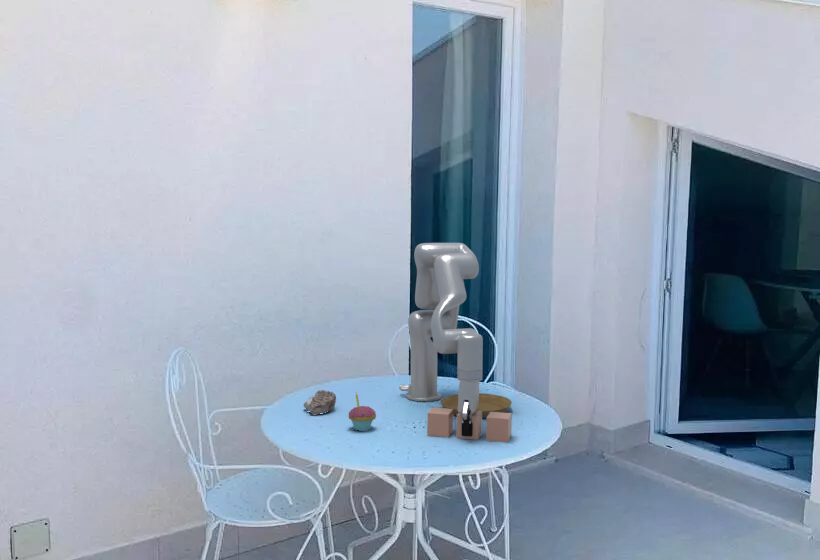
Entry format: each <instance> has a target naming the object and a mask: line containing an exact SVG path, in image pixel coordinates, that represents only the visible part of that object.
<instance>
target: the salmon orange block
mask: <svg viewBox="0 0 820 560" xmlns="http://www.w3.org/2000/svg"><path fill="white" fill-rule="evenodd" d="M512 420H513V419H512V412H504V413H501V412H490V413H489V414H488V416H487V417H486V424H485V425H486V434H485V438H486V440H485V441H487V442H500V443H509V441H510V440H511V437H512Z"/></svg>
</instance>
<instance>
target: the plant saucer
mask: <svg viewBox="0 0 820 560" xmlns="http://www.w3.org/2000/svg"><path fill="white" fill-rule="evenodd" d="M458 395H459V393H456V394H451V395H448V396H445V397H443V398H440V401H439V403H440V405H441V408H447V409H453V414H454V415H453V416H457V414H458ZM512 404H513V403H512V400H511V399H510V398H508V397H506V396H503V395H500V394H499V395H498V394H492V393H482V392H481V393H480V392H479V406H478V408H477V411H482V419H484V418H486V419H487V416H488V414H489V413H490V412H501V413H507V411H508V410H509V409H510V407H511V406H512Z"/></svg>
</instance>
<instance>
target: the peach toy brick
mask: <svg viewBox="0 0 820 560" xmlns="http://www.w3.org/2000/svg"><path fill="white" fill-rule="evenodd" d="M426 422H427V428H426V429H427V430H426V431H427V432H426V434H427V436H428V437H429V436H430V437H440V438H449V437H450V436H451V434H452V433H454V415H453V409H447V408H443V407H434V406H433V407H432V408H430V410H429V411H428V412H427V421H426Z"/></svg>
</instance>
